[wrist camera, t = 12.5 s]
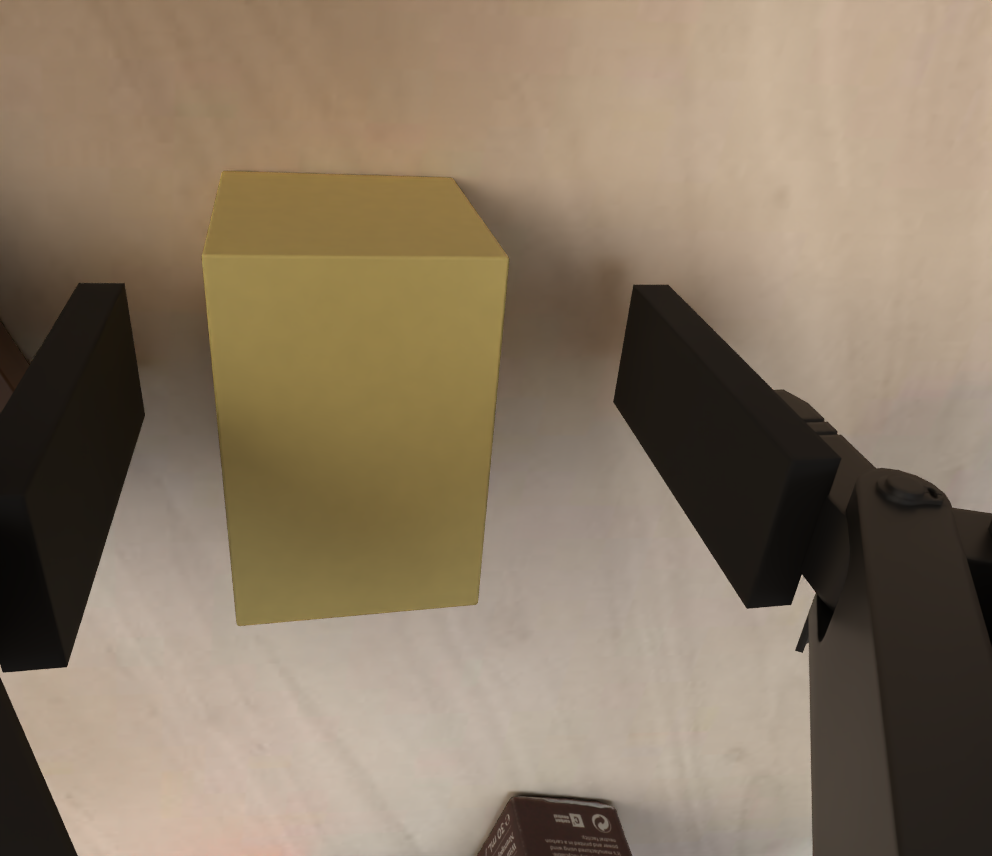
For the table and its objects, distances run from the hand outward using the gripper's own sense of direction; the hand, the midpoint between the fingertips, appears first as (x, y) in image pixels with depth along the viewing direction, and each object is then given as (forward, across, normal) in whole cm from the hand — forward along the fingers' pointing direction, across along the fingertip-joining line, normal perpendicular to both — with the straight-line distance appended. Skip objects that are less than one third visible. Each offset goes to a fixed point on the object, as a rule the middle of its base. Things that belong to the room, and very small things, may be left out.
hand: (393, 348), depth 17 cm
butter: (+2, -1, -1) cm, 2 cm away
